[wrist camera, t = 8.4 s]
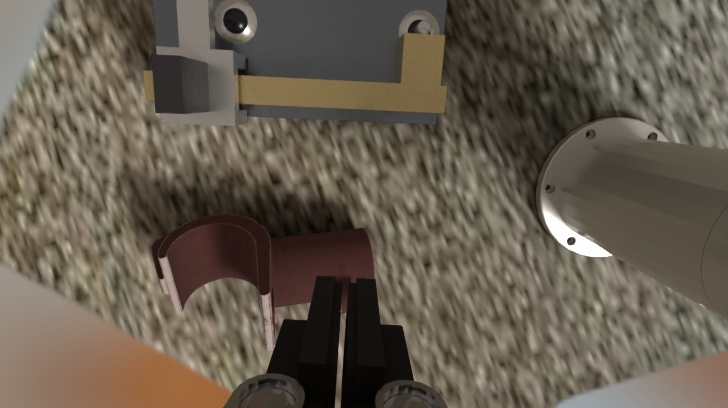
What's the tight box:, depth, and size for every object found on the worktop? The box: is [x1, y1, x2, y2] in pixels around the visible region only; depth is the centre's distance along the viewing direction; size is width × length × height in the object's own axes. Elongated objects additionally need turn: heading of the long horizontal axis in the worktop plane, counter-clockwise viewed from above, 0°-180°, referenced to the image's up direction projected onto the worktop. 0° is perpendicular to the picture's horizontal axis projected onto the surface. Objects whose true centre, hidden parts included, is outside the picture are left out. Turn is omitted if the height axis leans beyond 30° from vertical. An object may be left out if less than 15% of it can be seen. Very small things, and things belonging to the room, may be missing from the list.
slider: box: [151, 0, 247, 126], centre depth 27 cm, size 5×8×9 cm, turn 177°
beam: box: [143, 19, 447, 113], centre depth 30 cm, size 22×6×2 cm, turn 87°
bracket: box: [151, 214, 375, 351], centre depth 32 cm, size 6×17×10 cm, turn 91°
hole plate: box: [153, 0, 447, 125], centre depth 32 cm, size 22×12×1 cm, turn 87°
